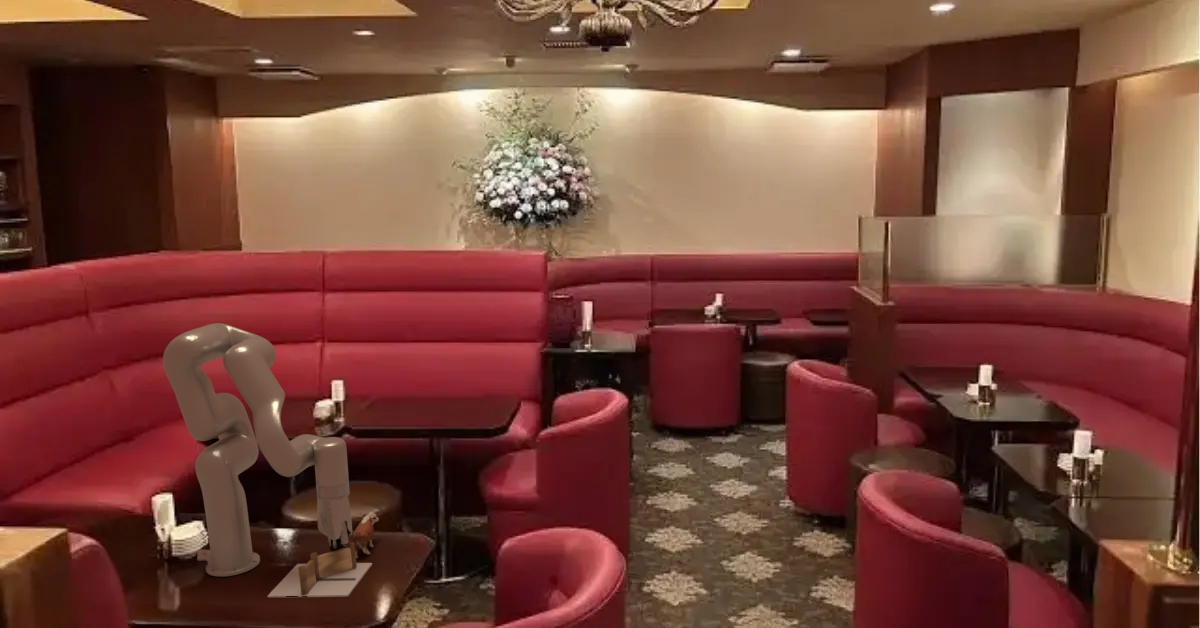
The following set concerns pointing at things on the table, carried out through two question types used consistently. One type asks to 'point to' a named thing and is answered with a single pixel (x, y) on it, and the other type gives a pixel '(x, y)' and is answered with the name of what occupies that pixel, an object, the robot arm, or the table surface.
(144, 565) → the table surface
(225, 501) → the robot arm
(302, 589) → the fixed fence section
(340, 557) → the fence panel
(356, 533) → the bull figurine
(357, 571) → the card
